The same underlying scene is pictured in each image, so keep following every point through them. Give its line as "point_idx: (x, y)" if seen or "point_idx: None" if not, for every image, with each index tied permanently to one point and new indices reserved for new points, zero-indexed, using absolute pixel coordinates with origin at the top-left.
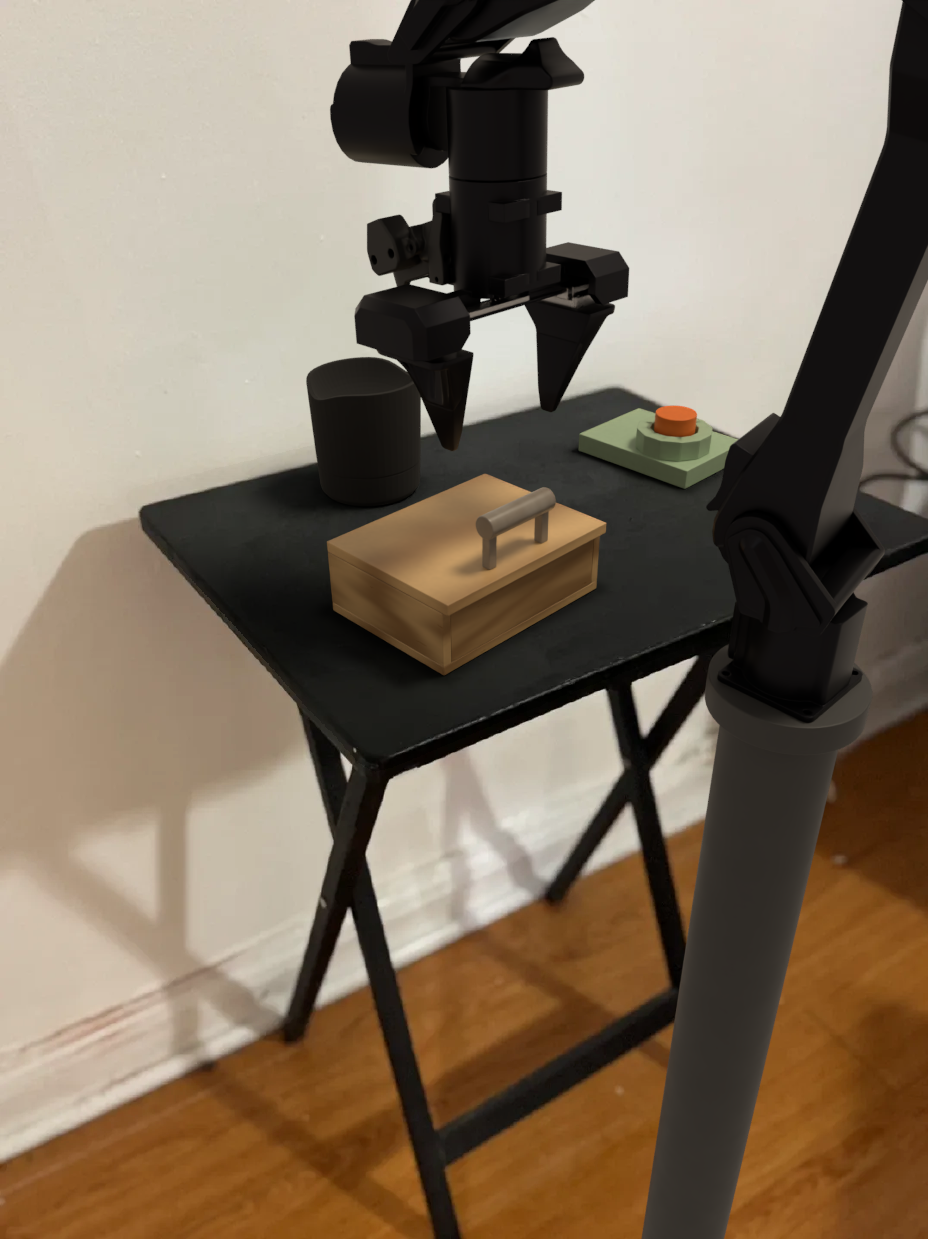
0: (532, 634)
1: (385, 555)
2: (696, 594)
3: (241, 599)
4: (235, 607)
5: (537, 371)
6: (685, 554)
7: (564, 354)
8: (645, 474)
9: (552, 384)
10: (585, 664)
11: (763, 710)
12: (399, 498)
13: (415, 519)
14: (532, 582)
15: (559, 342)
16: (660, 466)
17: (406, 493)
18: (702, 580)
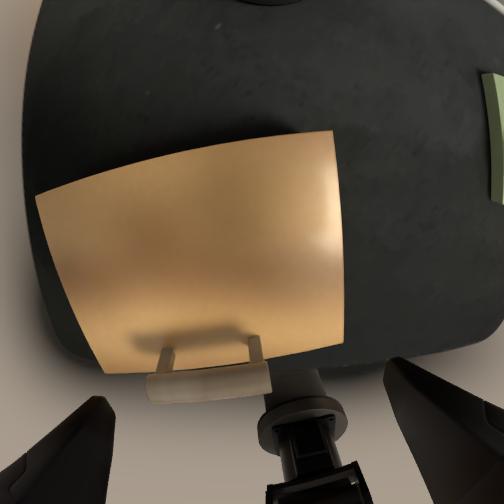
0: None
1: (76, 267)
2: (368, 337)
3: (31, 120)
4: (24, 131)
5: (434, 401)
6: (414, 287)
7: (438, 483)
8: (491, 155)
9: (409, 422)
10: (228, 365)
11: (268, 445)
12: (271, 4)
13: (145, 203)
14: None
15: (456, 492)
16: (500, 174)
17: (283, 3)
18: (388, 324)
